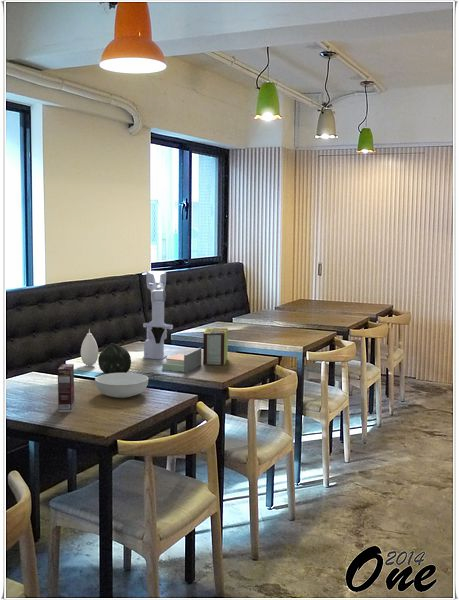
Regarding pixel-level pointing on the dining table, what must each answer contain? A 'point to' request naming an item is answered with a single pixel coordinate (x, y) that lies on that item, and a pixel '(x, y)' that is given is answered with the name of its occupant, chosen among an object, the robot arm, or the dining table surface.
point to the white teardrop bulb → (89, 350)
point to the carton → (176, 359)
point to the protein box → (215, 346)
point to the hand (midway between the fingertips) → (157, 343)
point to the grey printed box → (186, 362)
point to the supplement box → (66, 388)
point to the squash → (114, 359)
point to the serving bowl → (121, 384)
